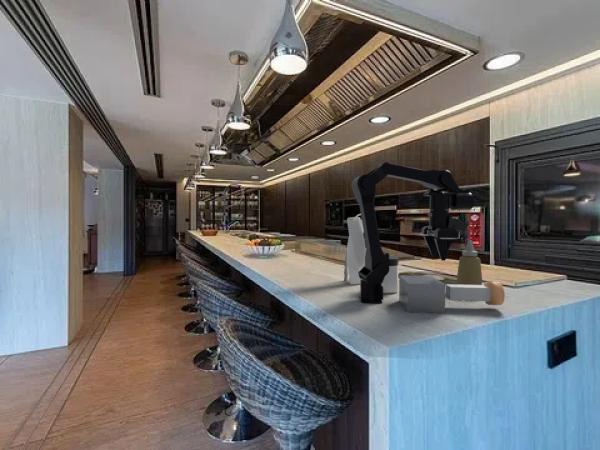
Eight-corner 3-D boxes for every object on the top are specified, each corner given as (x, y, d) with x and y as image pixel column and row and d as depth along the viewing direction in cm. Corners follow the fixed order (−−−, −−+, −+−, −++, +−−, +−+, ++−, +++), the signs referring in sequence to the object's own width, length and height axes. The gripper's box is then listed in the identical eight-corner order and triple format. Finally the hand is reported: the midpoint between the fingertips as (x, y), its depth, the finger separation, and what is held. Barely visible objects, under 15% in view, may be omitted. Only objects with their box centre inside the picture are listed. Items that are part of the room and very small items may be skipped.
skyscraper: (363, 281, 132) (364, 213, 131) (368, 285, 124) (369, 213, 123) (343, 281, 131) (343, 213, 130) (347, 285, 123) (347, 213, 122)
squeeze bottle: (468, 295, 108) (469, 241, 108) (451, 289, 116) (452, 240, 115) (487, 293, 110) (488, 241, 110) (469, 288, 118) (470, 239, 118)
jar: (403, 291, 114) (404, 257, 113) (390, 294, 108) (390, 259, 108) (382, 286, 120) (383, 255, 120) (368, 290, 115) (369, 256, 115)
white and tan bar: (451, 306, 91) (452, 283, 90) (443, 300, 97) (444, 278, 97) (504, 308, 89) (504, 284, 89) (492, 301, 96) (493, 279, 95)
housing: (407, 312, 89) (407, 283, 89) (399, 300, 101) (399, 275, 101) (444, 313, 88) (445, 284, 88) (431, 301, 100) (432, 276, 100)
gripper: (478, 209, 93) (477, 263, 93) (454, 210, 111) (453, 255, 112) (438, 209, 94) (437, 262, 94) (421, 210, 112) (420, 254, 113)
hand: (438, 258), depth 103 cm, fingers open, 9 cm apart
